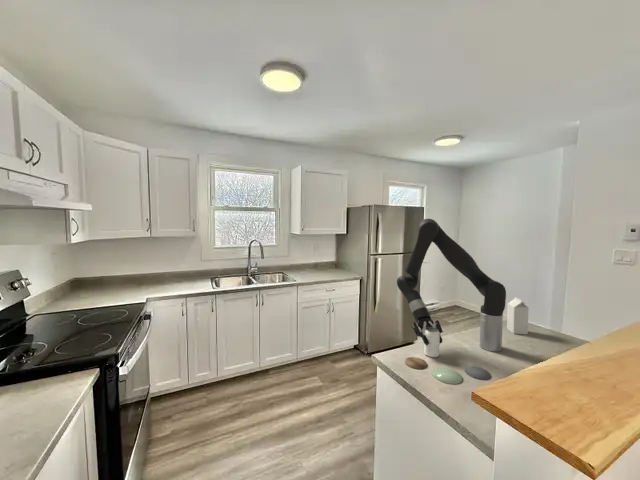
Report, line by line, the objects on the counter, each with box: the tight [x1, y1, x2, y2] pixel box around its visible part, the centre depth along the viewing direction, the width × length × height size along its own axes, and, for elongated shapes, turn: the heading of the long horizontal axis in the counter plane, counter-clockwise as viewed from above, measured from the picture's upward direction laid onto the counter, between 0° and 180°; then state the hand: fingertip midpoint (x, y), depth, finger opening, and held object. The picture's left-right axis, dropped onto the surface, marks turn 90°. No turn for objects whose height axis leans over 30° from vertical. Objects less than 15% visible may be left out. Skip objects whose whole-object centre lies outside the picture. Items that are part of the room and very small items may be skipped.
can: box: [423, 327, 441, 359], centre depth 126 cm, size 6×6×12 cm
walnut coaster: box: [404, 356, 428, 370], centre depth 118 cm, size 9×9×1 cm
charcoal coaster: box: [464, 365, 491, 381], centre depth 110 cm, size 9×9×1 cm
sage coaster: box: [431, 366, 463, 385], centre depth 108 cm, size 11×11×1 cm
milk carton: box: [506, 296, 529, 335], centre depth 151 cm, size 7×7×19 cm
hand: (434, 343), depth 124 cm, fingers closed on can, 6 cm apart
